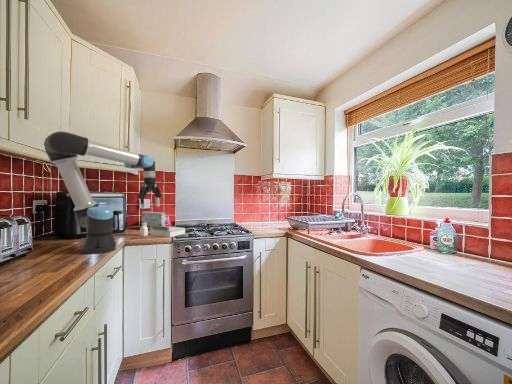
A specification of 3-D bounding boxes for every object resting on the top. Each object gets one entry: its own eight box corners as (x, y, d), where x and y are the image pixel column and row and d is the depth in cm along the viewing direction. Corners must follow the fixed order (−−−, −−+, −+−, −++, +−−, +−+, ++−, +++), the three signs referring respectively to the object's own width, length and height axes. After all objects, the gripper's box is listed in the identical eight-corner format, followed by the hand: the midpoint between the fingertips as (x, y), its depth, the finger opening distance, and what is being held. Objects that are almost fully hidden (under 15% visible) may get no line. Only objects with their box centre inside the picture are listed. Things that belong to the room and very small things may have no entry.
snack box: (140, 229, 192) (141, 211, 192) (145, 228, 198) (146, 211, 198) (161, 230, 186) (161, 212, 186) (165, 229, 191) (166, 212, 192)
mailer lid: (170, 231, 160) (170, 227, 160) (149, 229, 168) (150, 225, 168) (185, 228, 175) (185, 224, 175) (165, 226, 183) (166, 223, 183)
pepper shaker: (144, 236, 161) (144, 223, 161) (139, 236, 162) (139, 223, 162) (148, 235, 165) (148, 222, 165) (143, 235, 166) (144, 222, 166)
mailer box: (170, 237, 160) (170, 232, 160) (149, 234, 168) (149, 230, 168) (184, 233, 175) (185, 229, 175) (165, 231, 183) (165, 227, 183)
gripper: (140, 177, 144) (141, 209, 145) (166, 177, 168) (166, 205, 169) (130, 177, 146) (132, 209, 147) (157, 177, 170) (158, 205, 171)
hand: (150, 207), depth 158 cm, fingers open, 13 cm apart
